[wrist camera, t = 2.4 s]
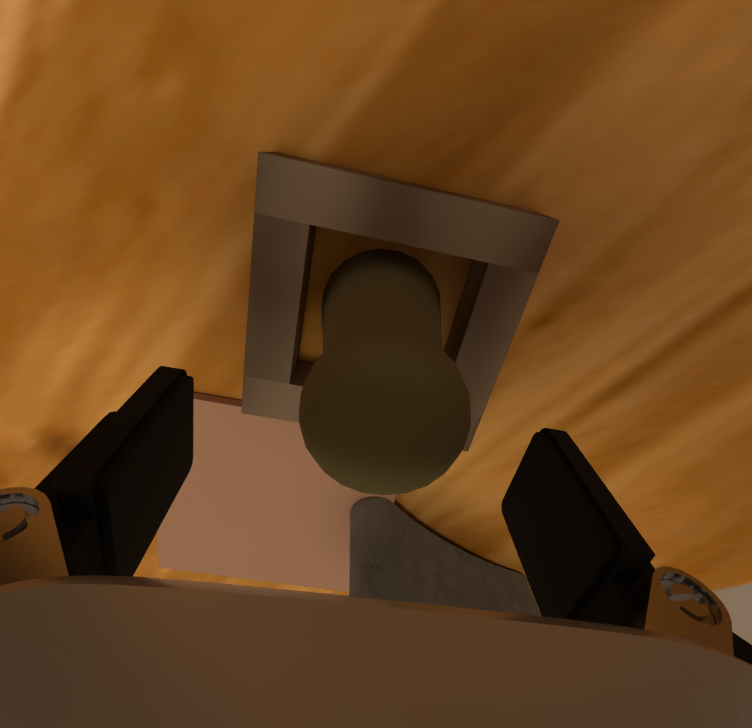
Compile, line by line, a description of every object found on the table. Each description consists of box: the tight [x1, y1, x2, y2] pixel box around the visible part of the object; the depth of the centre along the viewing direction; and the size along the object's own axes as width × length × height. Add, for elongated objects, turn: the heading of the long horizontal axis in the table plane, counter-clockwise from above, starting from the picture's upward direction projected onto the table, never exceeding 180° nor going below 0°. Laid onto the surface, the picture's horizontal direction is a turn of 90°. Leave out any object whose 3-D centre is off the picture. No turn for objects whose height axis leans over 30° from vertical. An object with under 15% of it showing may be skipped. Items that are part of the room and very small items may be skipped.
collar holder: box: [241, 152, 559, 451], centre depth 20 cm, size 12×12×2 cm
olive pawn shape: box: [299, 249, 471, 495], centre depth 16 cm, size 6×6×11 cm
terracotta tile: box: [157, 393, 397, 592], centre depth 27 cm, size 15×15×1 cm
